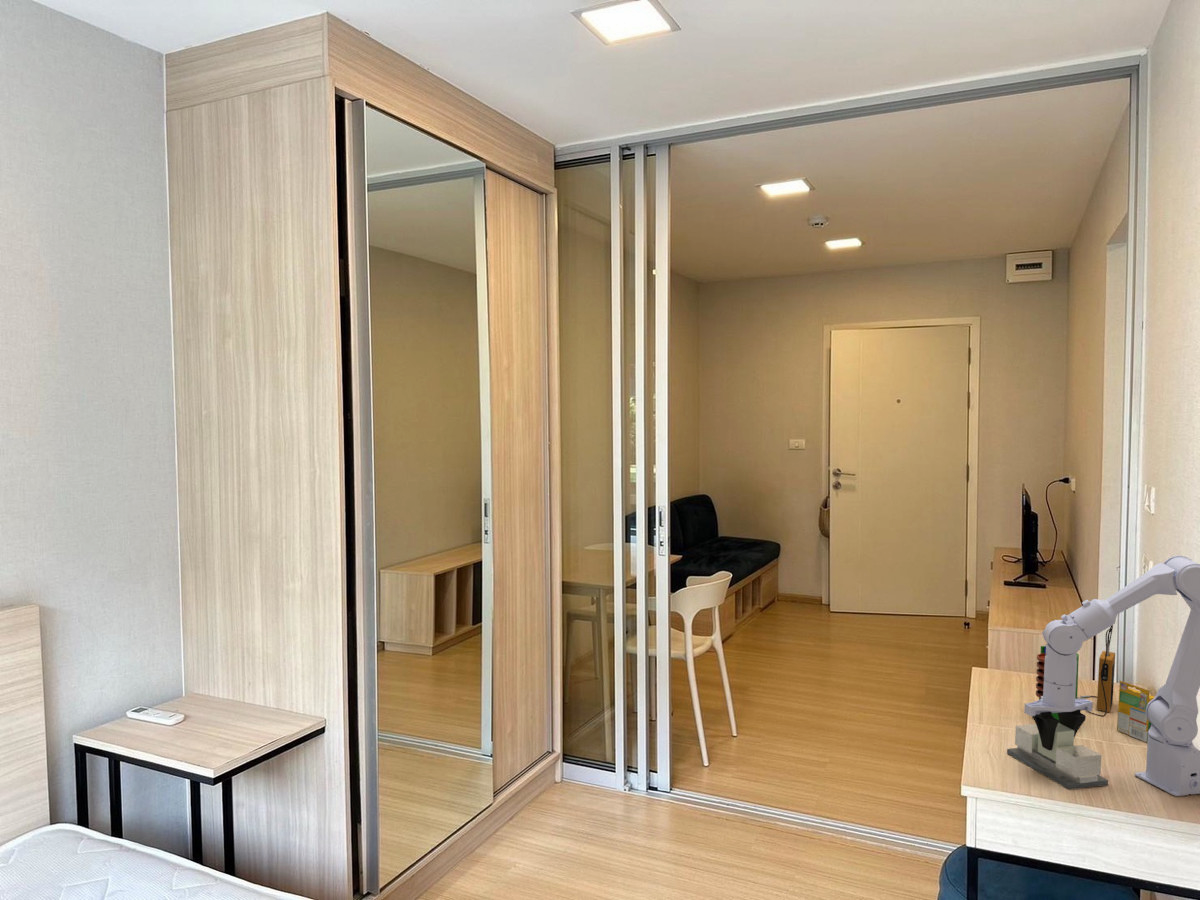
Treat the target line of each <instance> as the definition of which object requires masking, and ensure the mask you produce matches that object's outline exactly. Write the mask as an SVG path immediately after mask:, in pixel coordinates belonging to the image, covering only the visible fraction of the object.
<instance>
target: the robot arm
mask: <svg viewBox="0 0 1200 900" xmlns="http://www.w3.org/2000/svg"><path fill="white" fill-rule="evenodd" d="M1178 593H1179V594H1180V595H1181V597H1182V599H1183V600H1184V602H1185V603H1186V605H1187V606H1188V607H1189V609H1190V611H1189V614H1188V618H1187V620H1186V623H1185V626H1184V628H1183V632H1182V635H1181V637H1180V641H1179V643H1178V647H1177V650H1176V652H1175V655H1174V658H1173V661H1172V664H1171V666H1170V669H1169V672H1168V676H1167V678H1166V682H1165V684H1164V685H1163V686H1161V687H1159V688H1158V690H1157V691H1156V695H1154V698H1153V699H1152V700H1151V701H1150V702H1149V703H1148V704H1147V706H1146V716H1147V719H1148V720H1149V721H1150V722H1151V723H1152V724H1151V727H1150V729H1149V731H1148V742H1147V744H1146V745H1147V748H1146V749H1147V750H1146V765H1145V771H1141V772H1135V773H1134V776H1135V777H1137V778H1139V779H1140V780H1143V781H1144V782H1147V783H1149V784H1151V785H1153V786H1155V787H1157V788H1158V789H1161V790H1163V791H1165V792H1166V793H1168V794H1171V795H1172V796H1174V797H1182V796H1189V794H1191V795H1198V794H1200V750H1199V748H1197V747H1196V746H1195V745H1194V743H1193V741H1194V740H1195V738H1196V737H1197V735H1198V732H1199V731H1198V730H1199V727H1198V723H1197V718H1198V715H1199V707H1198V702H1197V701H1198V700H1197V697H1198V694H1199V693H1198V692H1199V690H1200V563H1198V562H1196V561H1194V560H1192V559H1191V558H1190V557H1187V556H1183V555H1174V556H1171V557H1168V558H1167V559H1165V561H1164V562H1159V563H1157V564H1155V565H1154V566H1153V567H1151V568H1150V569H1149V570H1148V571H1146V572H1144V574H1142V575H1141V576H1139V577H1137V578H1136V579H1134V580H1133V581H1131V582H1129V583H1128V584H1127V585H1126V586H1124V587H1123V588H1120V590H1118V591H1116V592H1115V593H1113V594H1111V596H1109V597H1108V598H1106V599H1097V598H1093V599H1092V600H1090V601H1089V600H1088V599H1086V600H1083V601H1082V602H1081V604H1082V606H1081V607H1079V608H1077V609H1076V610H1074V611H1072V612H1070V613H1069V614H1067V615H1066V614H1065V613H1064V614H1063V615H1060V618H1061V619H1055V620H1052V621H1050V622H1049V623H1047V624H1046V626H1045V628H1044V630H1042V637H1043V639H1044V640H1045V642H1046V645H1045V646H1046V656H1045V666H1044V687H1043V696H1041V699H1040V700H1039V699H1038V700H1035V701H1032V702H1028V703H1024V707H1023V708H1024V711H1023V713H1024V714H1026V715H1028V716H1030V717H1032V720H1033V721H1034V724H1036V725H1037V728H1038V731H1039V734H1040V739H1041V743H1042V747H1044V748H1046V749H1047V750H1052V748H1053V743H1054V735H1055V731H1056V727H1057V725H1058V723H1060V724H1062V725H1064V726H1066V727H1068V728H1070V729H1072V730H1074V739H1076V736H1077V733H1078V731H1079V730H1080V727H1081V726H1082V724H1083V723H1084V722H1085V721H1086V720H1087V719H1086V718H1087V717H1086V715H1085V714H1083V713H1082V711H1086V712H1087V711H1089V712H1092V711H1093V701H1091V700H1089V699H1087V698H1077V699H1075V694H1076V674H1077V653H1078V652H1079V651H1080V650H1081V648H1082V646H1083V643H1084V642H1086V641H1088V640H1089V639H1091V638H1093V637H1095V636H1096V635H1098V634H1100V633H1102V632H1103V631H1105V630H1106V629H1107V630H1108V629H1109V628H1110V627H1111V626H1112V625H1113V626H1114V625H1115V624H1116V619H1117V616H1118V614H1119V615H1120V614H1121V613H1123V612H1124V611H1126V610H1128V609H1131V608H1132V607H1134V606H1136V605H1138V604H1140V603H1142V602H1143V601H1145V600H1147V599H1149V598H1152V597H1154V596H1155V595H1165V596H1167V595H1168V596H1177V595H1178ZM1052 713H1058V717H1059V720H1057V719H1055V718H1053V715H1052Z"/></svg>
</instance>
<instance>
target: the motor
mask: <svg viewBox="0 0 1200 900" xmlns="http://www.w3.org/2000/svg"><path fill="white" fill-rule="evenodd" d="M1045 656H1046V645H1040V653H1039V654H1037V655H1036V660H1038V661H1036V667H1037V669H1036V671H1035V673H1036V675H1037V676H1036V677H1035V679H1036V683H1035V688H1036V690H1035V696H1036V697H1038V700H1040V699H1041V696H1043V687H1044V666H1045ZM1079 656H1080V655H1079V653H1078V652H1077V674H1076V694H1075V699H1078V698H1077V697H1078V691H1079V689H1078V688H1079V687H1078V685H1079V659H1080V657H1079ZM1052 715H1053V718H1055V719H1057V720H1059V717H1058V713H1052Z"/></svg>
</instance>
